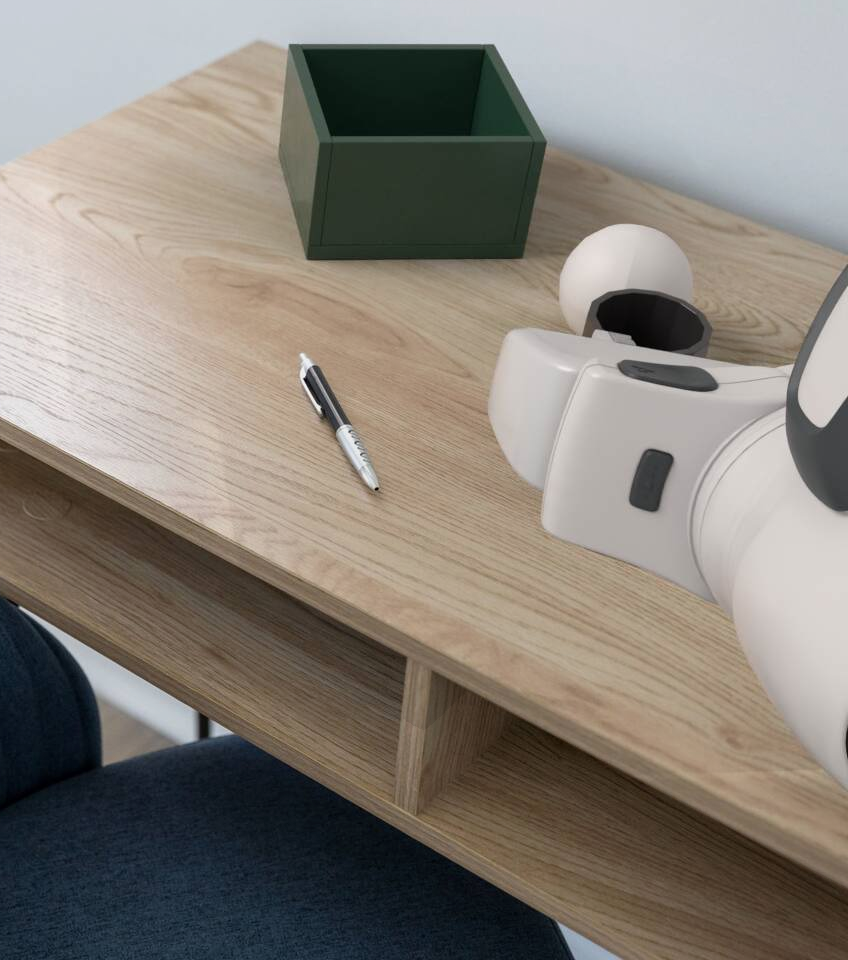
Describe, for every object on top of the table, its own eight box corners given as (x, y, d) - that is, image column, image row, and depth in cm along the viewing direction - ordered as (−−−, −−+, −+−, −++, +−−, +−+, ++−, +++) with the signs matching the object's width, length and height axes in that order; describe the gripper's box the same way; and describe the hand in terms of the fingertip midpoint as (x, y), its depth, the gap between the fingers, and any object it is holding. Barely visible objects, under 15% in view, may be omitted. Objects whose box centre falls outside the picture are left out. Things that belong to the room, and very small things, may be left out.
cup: (645, 437, 87) (688, 287, 81) (680, 509, 82) (729, 355, 76) (538, 439, 86) (574, 288, 80) (568, 511, 82) (608, 357, 76)
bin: (474, 153, 111) (494, 43, 106) (523, 258, 101) (547, 141, 95) (277, 154, 110) (288, 43, 105) (306, 259, 100) (319, 142, 95)
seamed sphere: (577, 386, 90) (605, 274, 85) (528, 313, 96) (551, 204, 91) (743, 371, 92) (779, 259, 87) (685, 300, 97) (716, 192, 93)
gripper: (1154, 468, 54) (991, 342, 67) (545, 360, 54) (498, 255, 67) (1081, 633, 56) (937, 481, 69) (499, 527, 57) (462, 396, 70)
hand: (717, 369), depth 68 cm, fingers open, 8 cm apart
